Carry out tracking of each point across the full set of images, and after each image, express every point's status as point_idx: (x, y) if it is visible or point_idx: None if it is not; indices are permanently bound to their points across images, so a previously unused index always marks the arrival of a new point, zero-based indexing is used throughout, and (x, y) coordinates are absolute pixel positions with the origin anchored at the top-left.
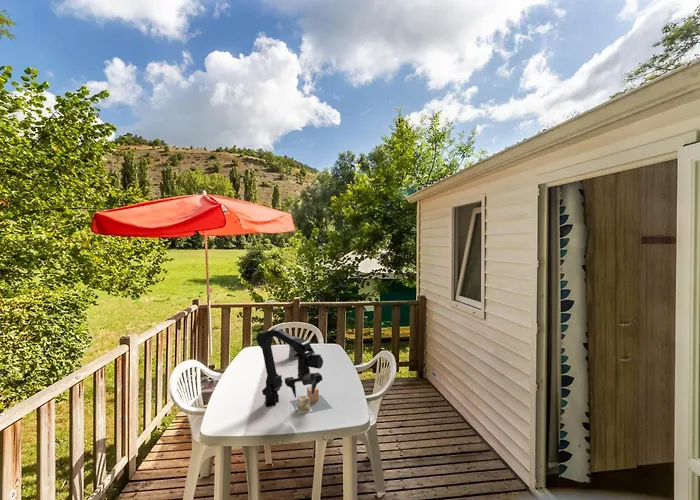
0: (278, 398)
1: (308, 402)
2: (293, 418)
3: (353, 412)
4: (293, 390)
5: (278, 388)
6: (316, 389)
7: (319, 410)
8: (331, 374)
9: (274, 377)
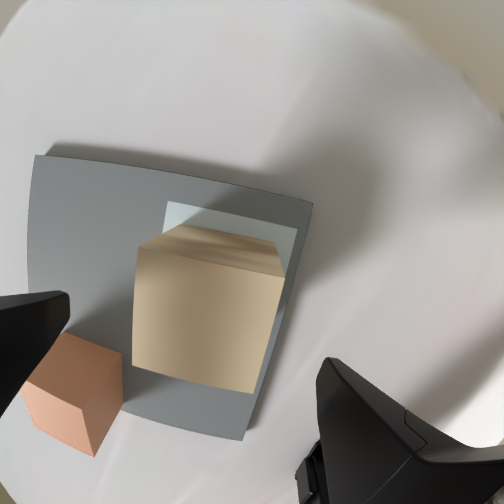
0: (309, 474)
1: (172, 240)
2: (359, 210)
3: (3, 73)
4: (429, 428)
5: None
6: (29, 387)
7: (117, 169)
8: (10, 453)
9: None
